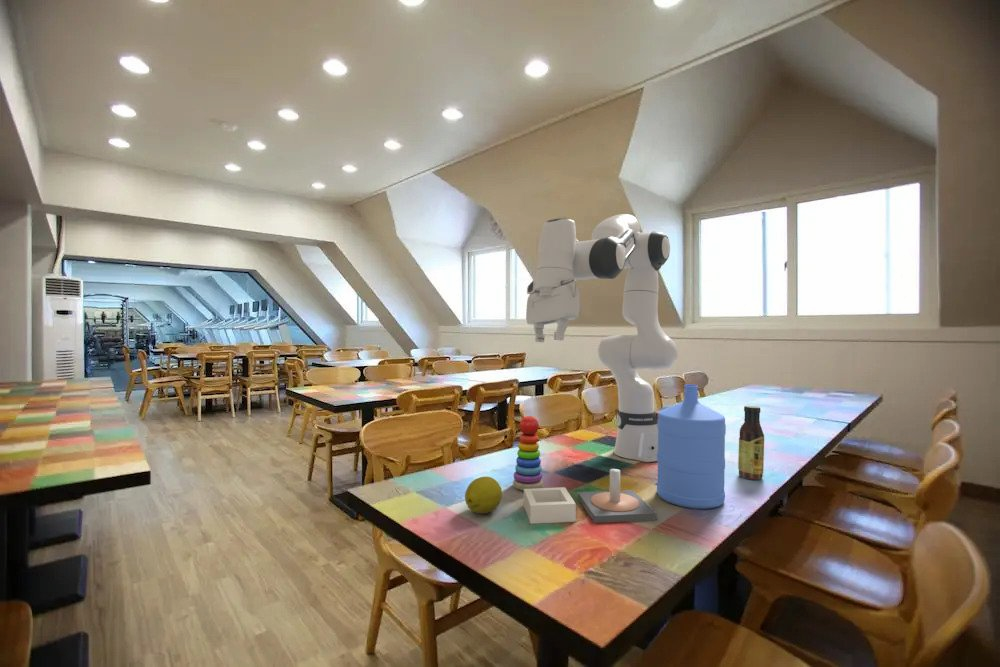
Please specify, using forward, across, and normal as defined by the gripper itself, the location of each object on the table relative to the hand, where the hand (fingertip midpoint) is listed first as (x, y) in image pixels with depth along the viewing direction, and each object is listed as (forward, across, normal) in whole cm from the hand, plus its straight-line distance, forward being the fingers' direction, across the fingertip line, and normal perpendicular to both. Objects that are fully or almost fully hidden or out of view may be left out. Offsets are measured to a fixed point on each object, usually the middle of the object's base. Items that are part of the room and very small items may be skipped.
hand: (548, 341), depth 110 cm
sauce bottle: (+30, 0, -67) cm, 73 cm away
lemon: (+41, +6, +10) cm, 43 cm away
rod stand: (+37, -4, -19) cm, 42 cm away
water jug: (+34, -5, -40) cm, 53 cm away
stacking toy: (+38, +17, -7) cm, 42 cm away
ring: (+39, 0, -4) cm, 39 cm away
